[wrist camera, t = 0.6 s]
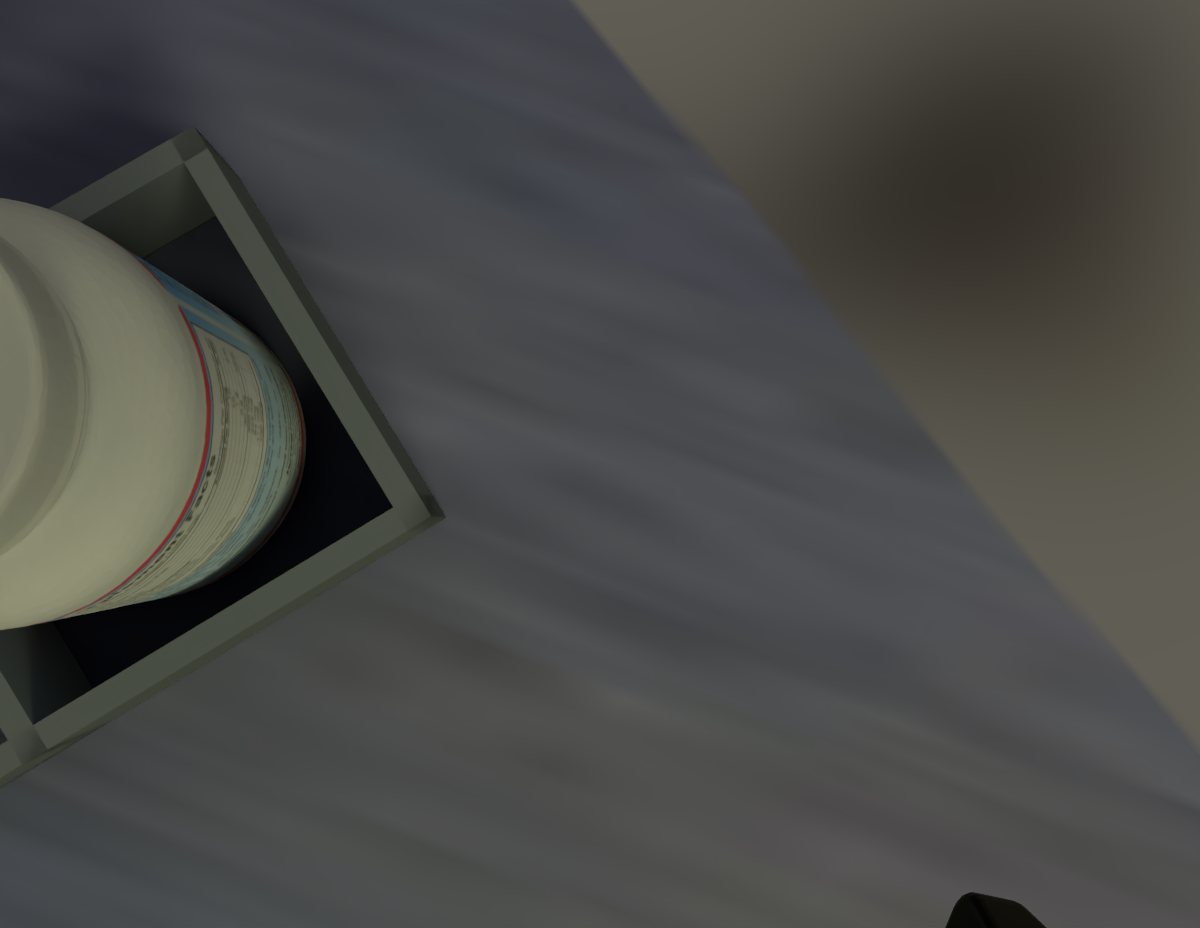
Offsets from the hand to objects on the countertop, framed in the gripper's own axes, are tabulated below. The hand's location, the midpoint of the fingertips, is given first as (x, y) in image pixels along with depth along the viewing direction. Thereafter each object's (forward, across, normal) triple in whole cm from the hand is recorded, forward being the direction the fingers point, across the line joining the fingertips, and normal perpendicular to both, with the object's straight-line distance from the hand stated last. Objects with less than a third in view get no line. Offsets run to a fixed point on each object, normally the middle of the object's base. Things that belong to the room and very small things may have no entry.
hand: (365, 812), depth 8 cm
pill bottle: (+15, +7, +4) cm, 17 cm away
